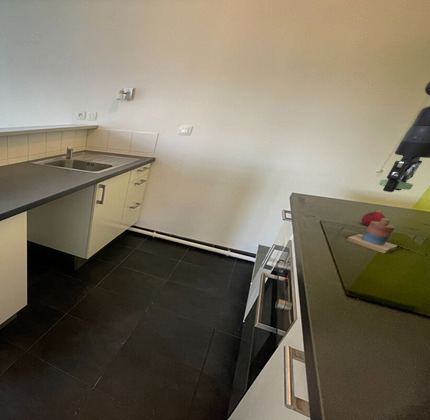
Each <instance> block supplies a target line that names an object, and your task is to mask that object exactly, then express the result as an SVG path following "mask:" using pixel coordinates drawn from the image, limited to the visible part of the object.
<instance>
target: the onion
mask: <svg viewBox="0 0 430 420" xmlns="http://www.w3.org/2000/svg"><path fill="white" fill-rule="evenodd" d="M382 212H383V211H382V210H380V209H379V210H375V211H370V212H368V213H365V214H364V215H363V216H362V217H361V223H362V224H363V225H364V226H366V227H368V226H369V224H370V223H371V221H376V222H380V221H381V219H382V218H386V217H385V215H384V214H383V213H382Z"/></svg>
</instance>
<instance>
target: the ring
mask: <svg viewBox="0 0 430 420" xmlns="http://www.w3.org/2000/svg"><path fill="white" fill-rule="evenodd" d="M387 182H388V179H381V180H380V181H379V182H378V185H379V186H382V187H385V185H386V183H387ZM413 186H414V184H413V183H409V182H399V184H398V185H397V187H396V188H397V189H402V190H407V191H409V190H411V189H412V188H413Z"/></svg>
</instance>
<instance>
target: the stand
mask: <svg viewBox="0 0 430 420" xmlns="http://www.w3.org/2000/svg"><path fill="white" fill-rule="evenodd" d="M390 222H391V219H389V218H386V217H385V218H382V219H381V221H380V222H376V221H371V223H370V224H369V226H367V228H366V230H365V231H364V233H358V234H354V235H350V236H348V237H347V238H346V242H349V243H351V244H354V245H358V246H361V247H362V248H363V247H364V248H366V249H369V250H371V251H372V250H373V251H375V252H378V253H381V254H383V255H385V254H387V253H390V252H392V251H394V250H396V249H397V248H398V245H397V244H395V243H391V242H387V241H388V240H389V238H390V237H391V235H392V233H393V232H394V230H395V229H396V226H394V225H392V224H389V223H390Z"/></svg>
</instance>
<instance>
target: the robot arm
mask: <svg viewBox="0 0 430 420" xmlns="http://www.w3.org/2000/svg"><path fill="white" fill-rule="evenodd" d="M424 93H425V95H427V96H429V97H430V80H429V81H428V82H427V83H426V85H425V87H424ZM394 154H395V155H396V156H402V157H401V158H400V160H396V161H394V163H393V165H392V167H391V169H390V171H389V172H388V174H387V176H386V179H387V180H388V182H387V183H386V185H385V186H383V188H382V191H383V192H387V193H393V192H395V191H399V192H400V191H402V190H403V189H397V188H396V187H397V185H398V184H399V182H406V183H408V181H409V180H411V179H412V178H413V177H414V175H415V174H416V172H417V170H418V169H419V167H420V166H421V164H422V163H423V160H421V158H424V159H430V105H428V106H424V107H423V108H421V109H419V111H418V113H417V115H416V116H415V118H414V120H413V122H412V124H411V125H410V127H409V128H408V129H407V131H406V132H405V134H404V135H403V137H402V139H401V140H400V143H398V146H397V148H396V150H395V151H394Z"/></svg>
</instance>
